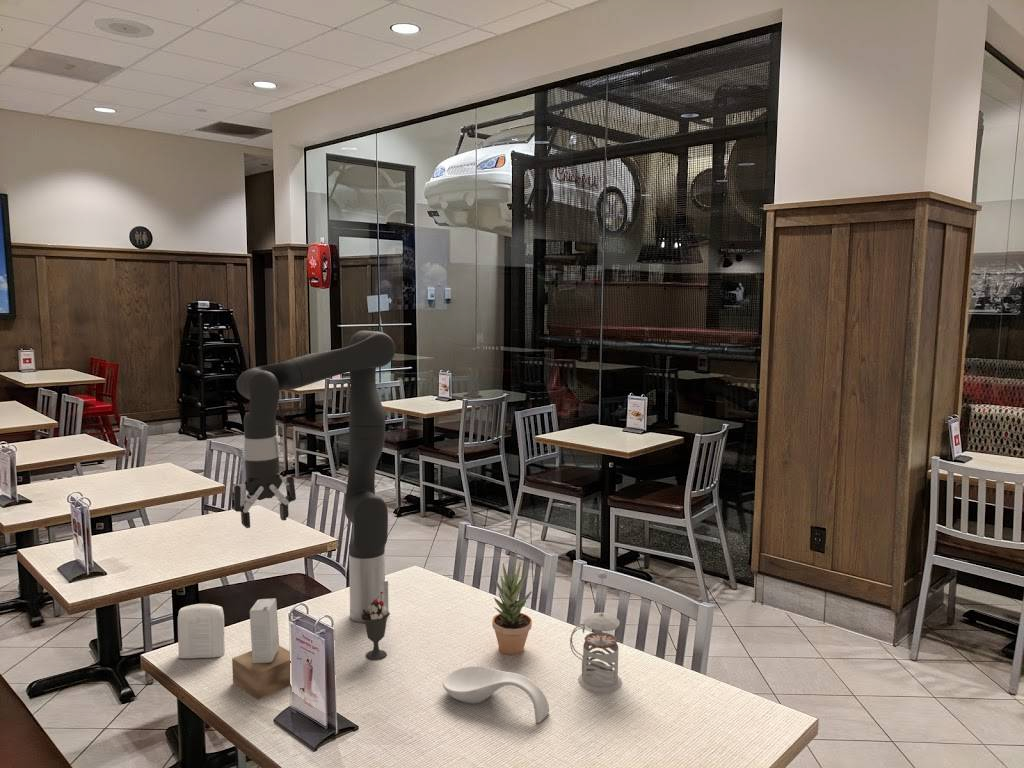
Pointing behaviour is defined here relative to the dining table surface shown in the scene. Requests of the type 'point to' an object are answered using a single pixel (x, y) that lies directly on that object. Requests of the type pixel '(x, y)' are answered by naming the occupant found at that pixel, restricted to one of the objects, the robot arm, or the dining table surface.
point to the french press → (597, 672)
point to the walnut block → (262, 673)
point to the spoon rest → (492, 686)
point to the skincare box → (264, 630)
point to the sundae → (375, 627)
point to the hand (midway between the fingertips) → (265, 523)
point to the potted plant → (511, 614)
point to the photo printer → (201, 631)
